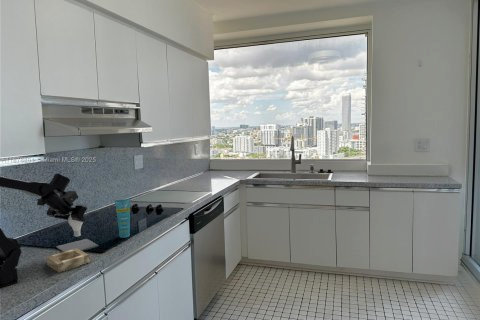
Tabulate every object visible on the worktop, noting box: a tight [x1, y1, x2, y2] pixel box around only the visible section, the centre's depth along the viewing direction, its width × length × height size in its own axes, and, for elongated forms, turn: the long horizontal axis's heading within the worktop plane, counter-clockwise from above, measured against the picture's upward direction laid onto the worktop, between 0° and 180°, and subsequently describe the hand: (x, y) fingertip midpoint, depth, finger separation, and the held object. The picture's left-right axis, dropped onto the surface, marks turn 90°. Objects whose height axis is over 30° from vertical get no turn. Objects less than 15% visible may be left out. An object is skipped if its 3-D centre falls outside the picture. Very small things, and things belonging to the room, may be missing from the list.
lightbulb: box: [67, 214, 84, 238], centre depth 154 cm, size 6×6×11 cm
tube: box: [114, 198, 131, 239], centre depth 174 cm, size 7×5×19 cm, turn 119°
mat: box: [55, 238, 99, 252], centre depth 161 cm, size 14×14×1 cm
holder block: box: [46, 248, 90, 274], centre depth 141 cm, size 12×12×4 cm
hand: (78, 220), depth 155 cm, fingers closed on lightbulb, 6 cm apart
